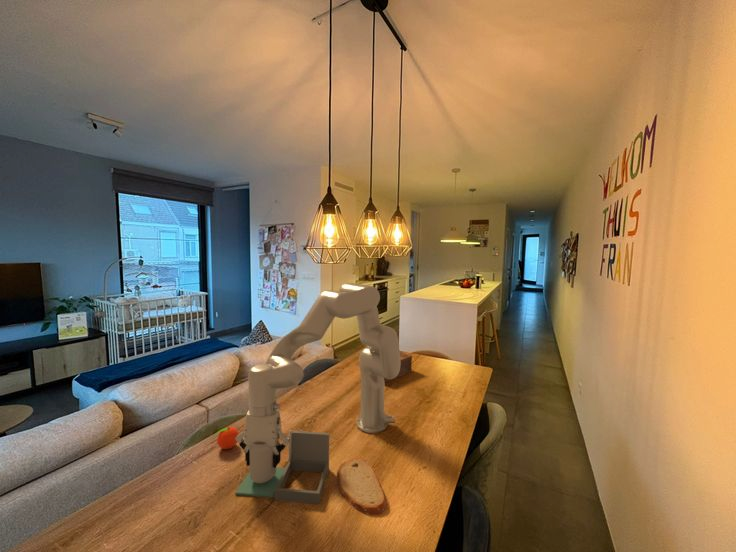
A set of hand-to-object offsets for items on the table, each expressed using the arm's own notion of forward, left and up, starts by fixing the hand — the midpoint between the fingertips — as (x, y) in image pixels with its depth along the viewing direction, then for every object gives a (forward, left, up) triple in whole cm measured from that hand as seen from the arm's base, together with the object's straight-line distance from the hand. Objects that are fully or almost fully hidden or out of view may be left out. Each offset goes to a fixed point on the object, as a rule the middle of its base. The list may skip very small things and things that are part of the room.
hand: (263, 463), depth 91 cm
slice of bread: (-30, -1, -6) cm, 31 cm away
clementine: (+19, -14, -6) cm, 24 cm away
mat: (0, 0, -6) cm, 6 cm away
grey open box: (-12, 0, -6) cm, 14 cm away
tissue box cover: (-37, -86, -6) cm, 94 cm away
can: (0, 0, -4) cm, 4 cm away
